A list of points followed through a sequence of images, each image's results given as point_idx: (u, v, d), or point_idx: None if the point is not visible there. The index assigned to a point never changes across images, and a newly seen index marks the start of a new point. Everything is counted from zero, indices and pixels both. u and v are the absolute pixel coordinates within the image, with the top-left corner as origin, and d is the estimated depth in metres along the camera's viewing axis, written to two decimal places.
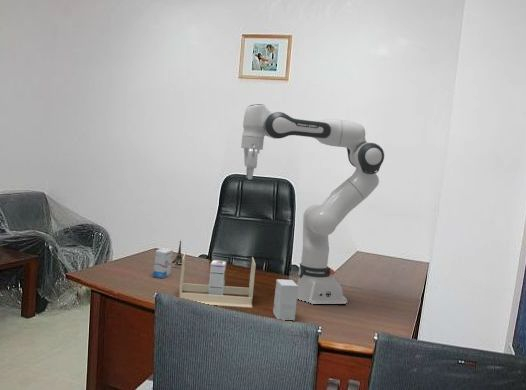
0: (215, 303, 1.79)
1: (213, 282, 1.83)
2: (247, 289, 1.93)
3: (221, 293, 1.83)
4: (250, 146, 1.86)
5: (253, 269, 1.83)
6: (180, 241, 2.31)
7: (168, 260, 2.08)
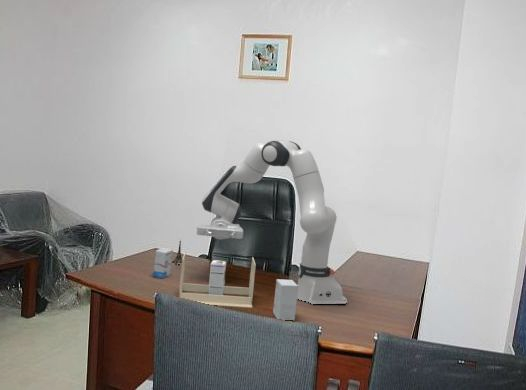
0: (215, 303, 1.79)
1: (213, 282, 1.83)
2: (247, 289, 1.93)
3: (221, 293, 1.83)
4: None
5: (253, 269, 1.83)
6: (180, 241, 2.31)
7: (168, 260, 2.08)
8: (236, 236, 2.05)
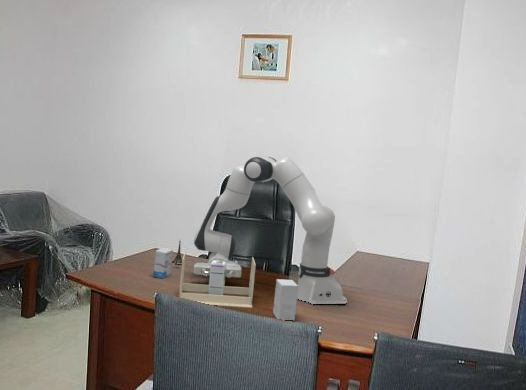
0: (215, 303, 1.79)
1: (213, 282, 1.83)
2: (247, 289, 1.93)
3: (221, 293, 1.83)
4: None
5: (253, 269, 1.83)
6: (180, 241, 2.32)
7: (168, 260, 2.08)
8: (234, 275, 1.98)
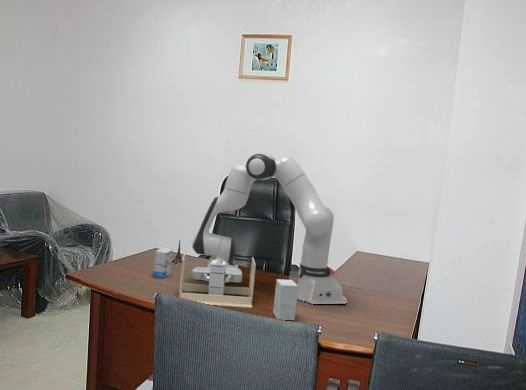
0: (215, 303, 1.79)
1: (213, 282, 1.83)
2: (247, 289, 1.93)
3: (221, 293, 1.83)
4: None
5: (253, 269, 1.83)
6: (179, 241, 2.32)
7: (168, 260, 2.08)
8: (234, 280, 1.90)
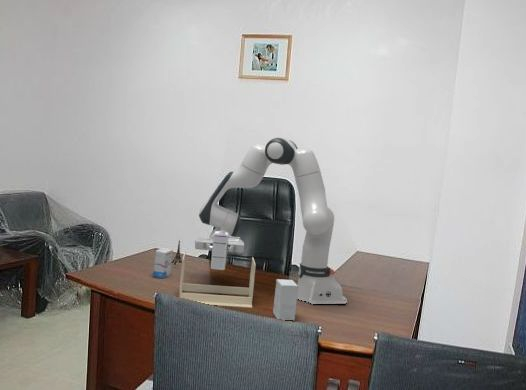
0: (215, 303, 1.79)
1: (216, 252, 1.86)
2: (247, 289, 1.93)
3: (224, 263, 1.86)
4: None
5: (253, 269, 1.83)
6: (179, 241, 2.32)
7: (168, 260, 2.08)
8: (237, 250, 1.92)
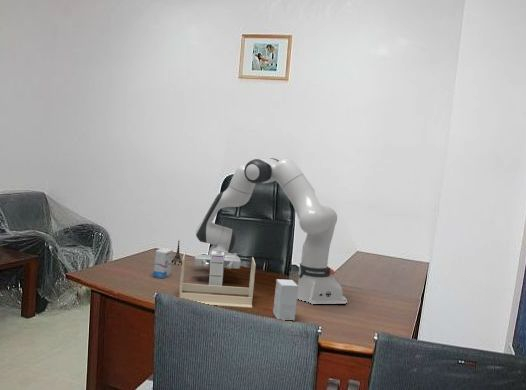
0: (215, 303, 1.79)
1: (213, 271, 1.99)
2: (247, 289, 1.93)
3: (221, 281, 2.00)
4: None
5: (253, 269, 1.83)
6: (178, 241, 2.32)
7: (168, 260, 2.08)
8: (233, 266, 2.06)
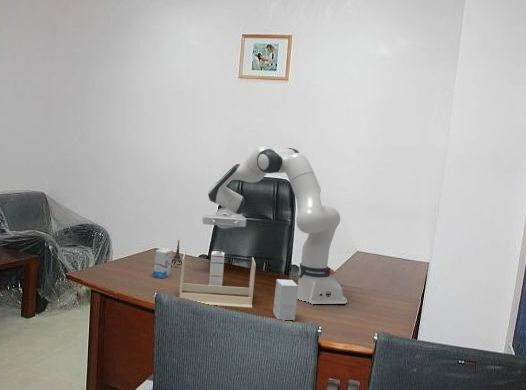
0: (215, 303, 1.79)
1: (213, 271, 1.99)
2: (247, 289, 1.93)
3: (221, 281, 2.00)
4: None
5: (253, 269, 1.83)
6: (178, 240, 2.32)
7: (168, 260, 2.08)
8: (239, 224, 2.18)
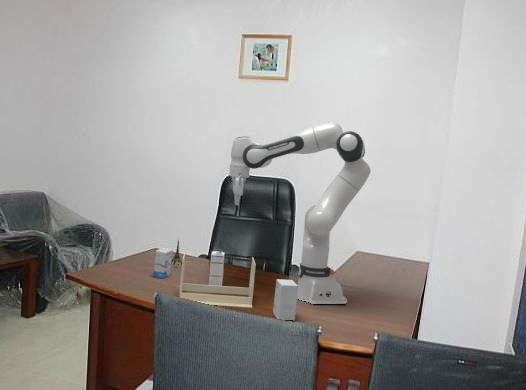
0: (215, 303, 1.79)
1: (213, 271, 1.99)
2: (247, 289, 1.93)
3: (221, 281, 2.00)
4: (237, 175, 2.04)
5: (253, 269, 1.83)
6: (178, 240, 2.32)
7: (168, 260, 2.08)
8: None
